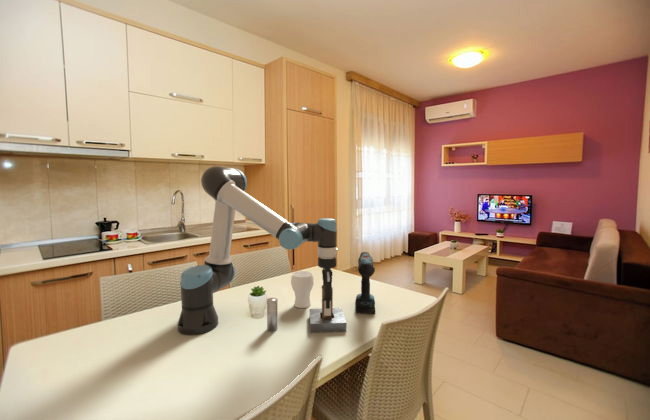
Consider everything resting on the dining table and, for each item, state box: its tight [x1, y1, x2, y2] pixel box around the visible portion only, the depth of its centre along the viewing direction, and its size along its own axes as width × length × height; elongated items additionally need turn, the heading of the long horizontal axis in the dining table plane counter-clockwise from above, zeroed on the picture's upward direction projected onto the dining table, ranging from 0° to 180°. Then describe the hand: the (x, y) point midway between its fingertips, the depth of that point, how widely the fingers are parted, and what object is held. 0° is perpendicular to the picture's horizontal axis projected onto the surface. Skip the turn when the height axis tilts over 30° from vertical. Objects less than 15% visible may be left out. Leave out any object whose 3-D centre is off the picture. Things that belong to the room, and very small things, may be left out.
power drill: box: [355, 251, 376, 315], centre depth 137 cm, size 9×23×25 cm, turn 174°
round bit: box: [266, 297, 279, 333], centre depth 117 cm, size 4×4×12 cm
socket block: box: [309, 307, 348, 334], centre depth 122 cm, size 14×14×4 cm
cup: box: [290, 270, 314, 309], centre depth 141 cm, size 11×11×15 cm
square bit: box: [321, 284, 334, 319], centre depth 121 cm, size 4×4×14 cm
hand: (327, 312), depth 122 cm, fingers closed on square bit, 4 cm apart
